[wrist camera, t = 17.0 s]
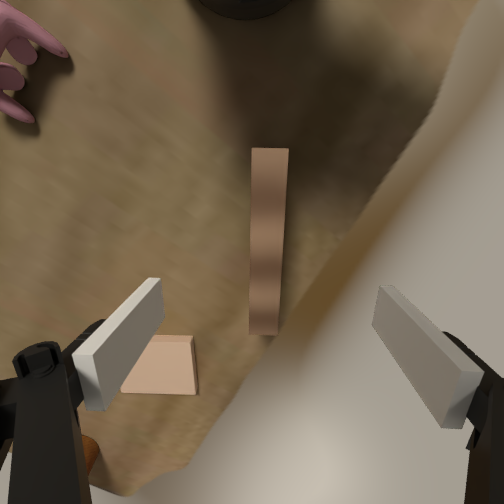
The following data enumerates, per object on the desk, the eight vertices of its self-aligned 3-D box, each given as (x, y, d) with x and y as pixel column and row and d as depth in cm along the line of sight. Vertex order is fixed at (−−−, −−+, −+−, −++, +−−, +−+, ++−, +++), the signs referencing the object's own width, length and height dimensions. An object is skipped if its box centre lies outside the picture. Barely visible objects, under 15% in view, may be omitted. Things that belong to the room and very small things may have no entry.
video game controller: (55, 32, 28) (-33, -33, 22) (75, 53, 27) (-13, -8, 21) (18, 108, 31) (-71, 70, 25) (34, 130, 30) (-54, 97, 23)
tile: (109, 340, 38) (121, 392, 41) (190, 342, 38) (195, 394, 41) (117, 332, 40) (127, 382, 43) (193, 333, 39) (198, 384, 43)
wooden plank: (254, 152, 30) (251, 147, 21) (280, 153, 30) (288, 148, 21) (252, 289, 36) (248, 334, 27) (273, 290, 36) (277, 335, 27)
